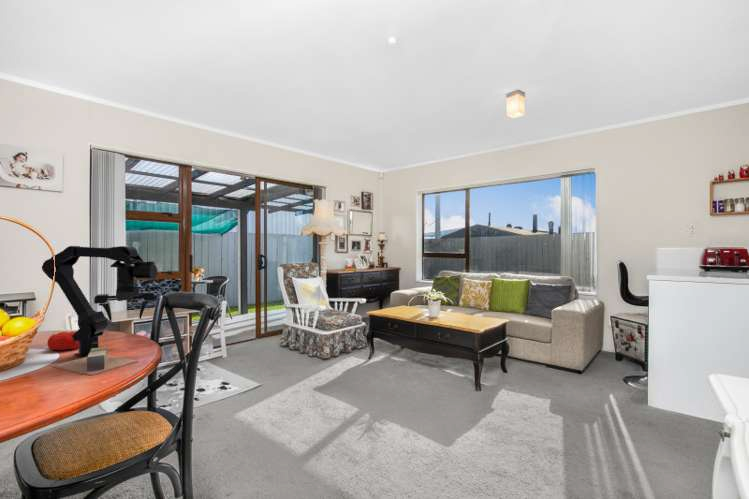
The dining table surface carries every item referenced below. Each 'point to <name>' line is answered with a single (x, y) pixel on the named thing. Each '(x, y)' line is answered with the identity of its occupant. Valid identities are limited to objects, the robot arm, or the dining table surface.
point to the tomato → (62, 341)
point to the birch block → (97, 359)
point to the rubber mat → (81, 367)
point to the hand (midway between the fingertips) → (125, 319)
